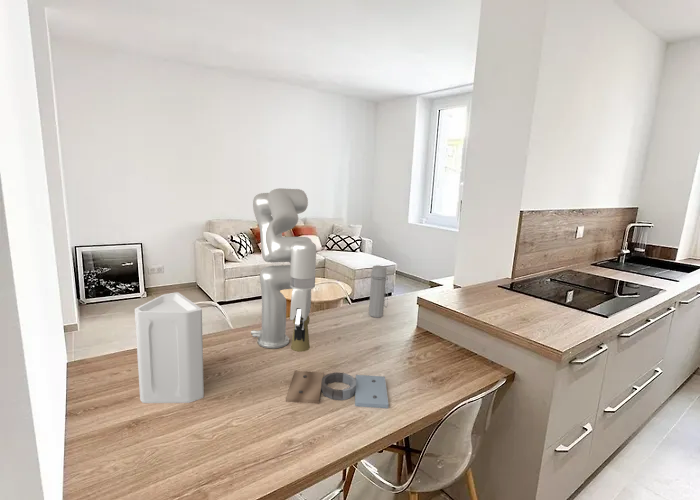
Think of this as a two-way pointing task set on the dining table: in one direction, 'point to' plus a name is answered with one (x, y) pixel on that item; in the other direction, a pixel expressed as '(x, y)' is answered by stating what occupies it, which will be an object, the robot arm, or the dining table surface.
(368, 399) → the leaf
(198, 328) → the white triangular canister
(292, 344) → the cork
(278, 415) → the dining table surface
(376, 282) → the water bottle
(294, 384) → the leaf
